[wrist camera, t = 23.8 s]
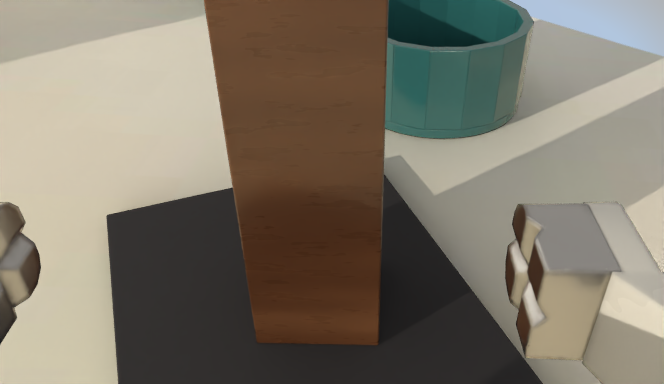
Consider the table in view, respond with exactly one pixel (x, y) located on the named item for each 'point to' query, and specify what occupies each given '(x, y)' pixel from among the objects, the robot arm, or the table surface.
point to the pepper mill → (306, 160)
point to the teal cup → (454, 65)
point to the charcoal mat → (281, 358)
